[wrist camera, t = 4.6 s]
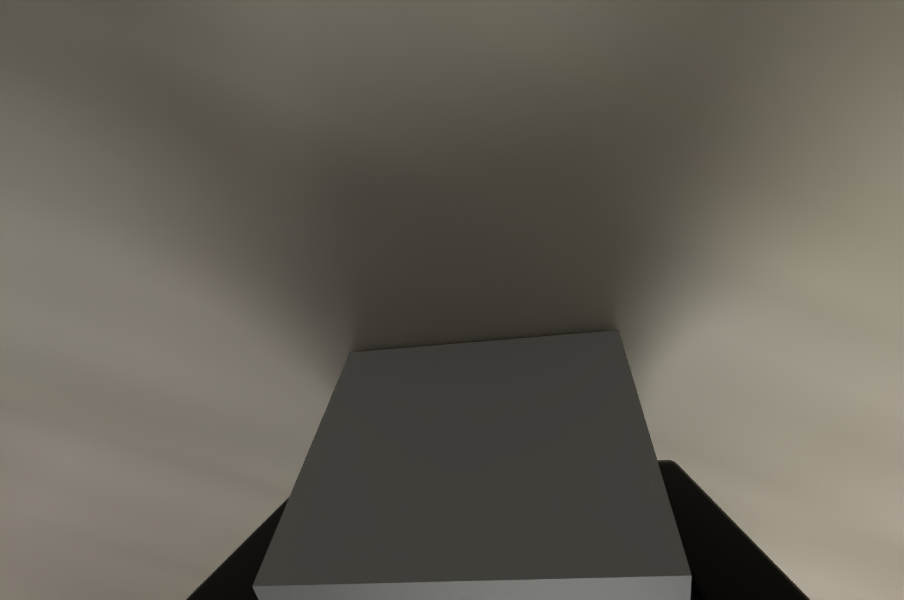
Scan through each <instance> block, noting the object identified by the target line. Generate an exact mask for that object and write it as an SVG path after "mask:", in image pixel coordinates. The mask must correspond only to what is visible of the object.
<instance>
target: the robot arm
mask: <svg viewBox="0 0 904 600" xmlns="http://www.w3.org/2000/svg"><path fill="white" fill-rule="evenodd" d="M657 461H658V465H659V468H660V471H661V475H662V478H663V481H664V485H665V488H666V491H667V495H668V498H669V501H670V505H671V508H672V511H673V515H674V518H675V522H676V525H677V528H678V532H679V535H680V538H681V542H682V545H683V548H684V552H685V555H686V558H687V562H688V565H689V568H690V572H691V575H692V579H691V598H690V600H810V599H809V598H808V597H807V596H806V595H805V594H804V593H803V592H802V591H801V590H800V589H799V588H798V587H797V586H796V585H795V584H794V583H793V582H792V581H791V580H790V579H789V578H788V577H787V576H786V575H785V574H784V573H783V571H782V570H781V569H780V568H779V567H778V566H777V565H776V564H775V563H774V562H773V561H772V560H771V559H770V558H769V557H768V556H767V555H766V554H765V553H764V552H763V551H762V550H761V549H760V548H759V547H758V546H757V545H756V544H755V543H754V542H753V541H752V540H751V539H750V538H749V537H748V536H747V535H746V534H745V533H744V532H743V531H742V530H741V529H740V528H739V527H738V526H737V525H736V523H735V522H734V521H733V520H732V519H731V518H730V517H729V516H728V515H727V514H726V513H725V512H724V511H723V510H722V509H721V508H720V507H719V506H718V505H717V504H716V503H715V502H714V501H713V500H712V499H711V498H710V497H709V496H708V495H707V494H706V493H705V492H704V491H703V490H702V489H701V488H700V487H699V486H698V485H697V484H696V483H695V482H694V481H693V480H692V479H691V478H690V477H689V475H688V474H687V473H686V472H685V471H684V470H683V469H682V468H681V467H680V466H679V465H678V464H677V463H675V462H674V461H671V460H657ZM288 500H289V498H288V499H287V500H286V501H285V502H284V503H283V504H282V505H281V506H280V507H279V508H278V509H277V510H276V511H275V512H274V513H273V514H272V515H271V516H270V517H269V518H268V519H267V520H266V521H265V522H264V523H263V524H262V525H261V526H260V527H258V528H257V529H256V530H255V531H254V532H253V533H252V534H251V535H250V536H249V537H248V538H247V539H246V540H245V541H244V542H243V543H242V544H241V545H240V546H239V547H238V548H237V549H236V550H235V551H234V552H233V553H232V554H231V555H230V556H229V557H228V558H227V559H226V560H225V561H224V562H223V563H222V564H221V565H220V566H219V567H218V568H217V569H216V570H215V571H214V572H213V573H212V574H211V575H210V576H209V577H208V578H207V579H206V580H205V581H204V582H203V583H202V584H201V585H200V586H199V587H198V588H197V589H196V590H195V591H194V592H193V593H192V594H191V595H190V596H189V597H188V598H187V599H186V600H258V598H257V595H256V593H255V591H254V589H253V587H252V586H253V584H254V581H255V579H256V576H257V574H258V572H259V569H260V567H261V564H262V562H263V560H264V557H265V555H266V552H267V550H268V548H269V545H270V543H271V540H272V538H273V536H274V533H275V531H276V528H277V526H278V524H279V521H280V519H281V516H282V514H283V512H284V509H285V507H286V504H287V502H288Z"/></svg>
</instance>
